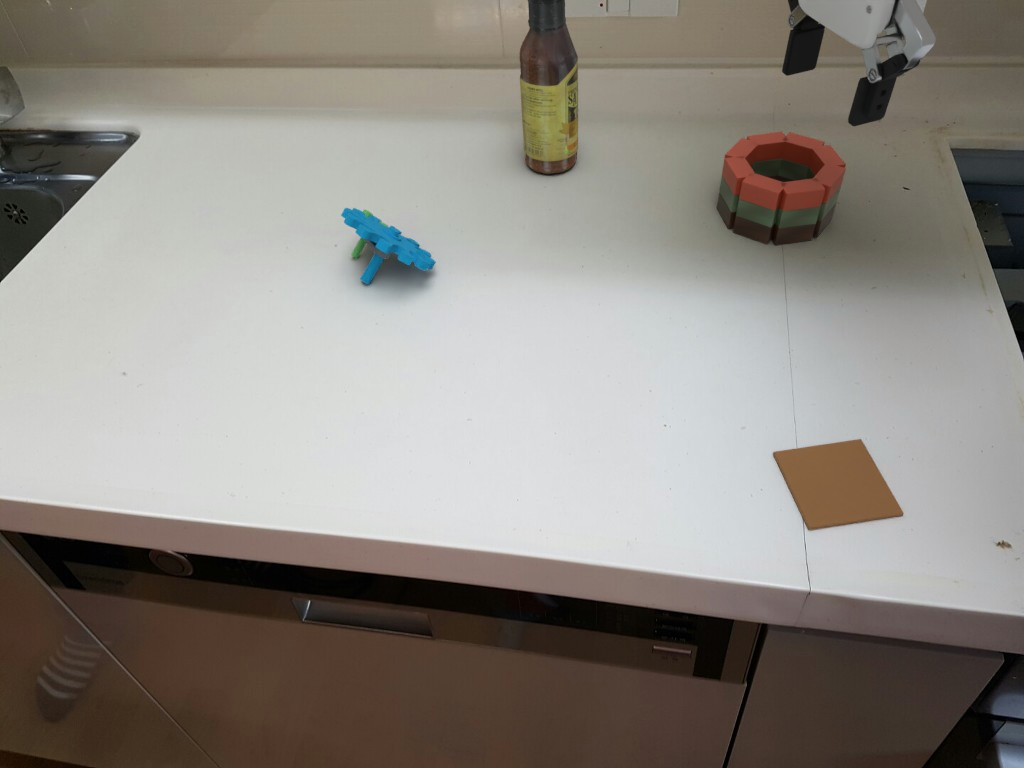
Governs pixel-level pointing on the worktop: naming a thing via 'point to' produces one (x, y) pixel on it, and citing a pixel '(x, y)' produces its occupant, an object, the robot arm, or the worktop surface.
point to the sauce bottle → (549, 89)
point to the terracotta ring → (776, 192)
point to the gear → (383, 243)
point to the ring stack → (776, 222)
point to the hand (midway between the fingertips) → (830, 95)
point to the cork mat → (836, 484)
